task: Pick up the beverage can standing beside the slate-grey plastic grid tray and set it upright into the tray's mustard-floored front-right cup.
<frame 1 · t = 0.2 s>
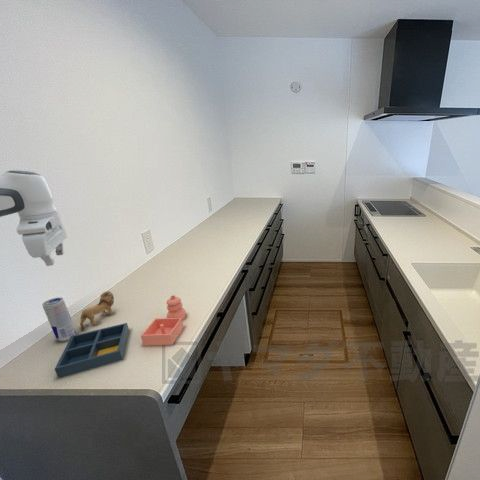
hand: (56, 259, 91), 26 cm above the table, tool pointing down, fingers open, 8 cm apart
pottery: (170, 328, 98), on the table
lion figurine: (100, 318, 102), on the table
beverage can: (67, 337, 92), on the table
grid: (97, 351, 86), on the table
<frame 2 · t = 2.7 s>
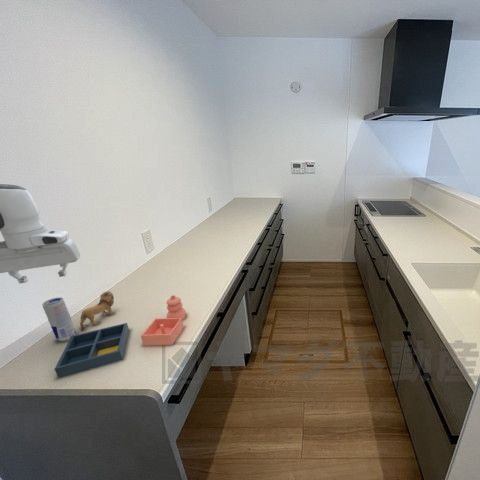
hand: (44, 278, 84), 23 cm above the table, tool pointing down, fingers open, 8 cm apart
nothing on the table moved.
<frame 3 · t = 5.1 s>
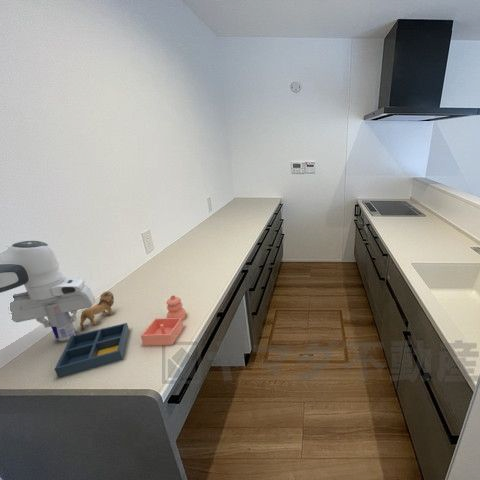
hand: (61, 323, 90), 6 cm above the table, tool pointing down, fingers closed on beverage can, 5 cm apart
beverage can: (67, 337, 92), on the table, touching gripper
everything else where it was.
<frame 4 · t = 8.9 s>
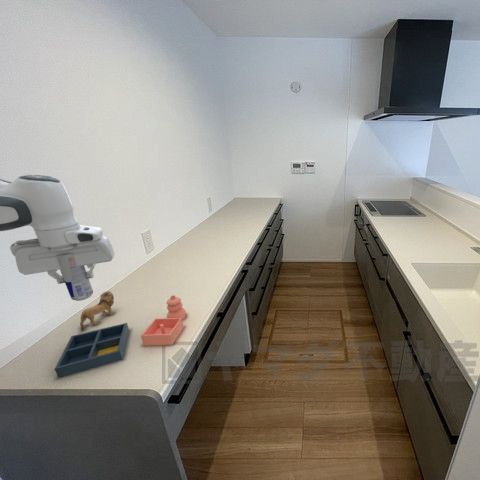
hand: (77, 280, 77), 27 cm above the table, tool pointing down, fingers closed on beverage can, 5 cm apart
beverage can: (83, 297, 79), point 21 cm above the table, touching gripper
everything else where it was.
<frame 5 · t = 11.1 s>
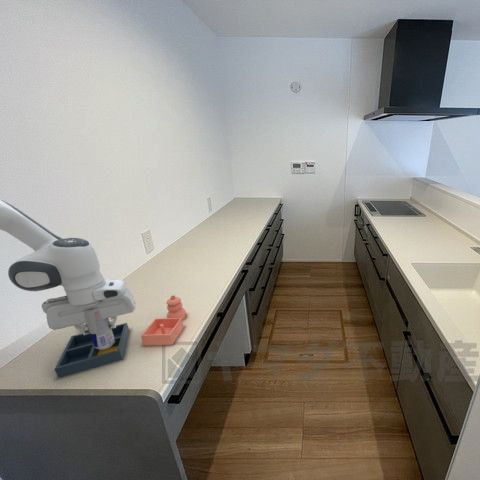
hand: (100, 330, 81), 10 cm above the table, tool pointing down, fingers closed on beverage can, 5 cm apart
beverage can: (105, 346, 83), point 4 cm above the table, touching gripper
everything else where it was.
when the fingers open (6 cm above the table, at t = 12.6 s): beverage can stays where it is, resting on grid.
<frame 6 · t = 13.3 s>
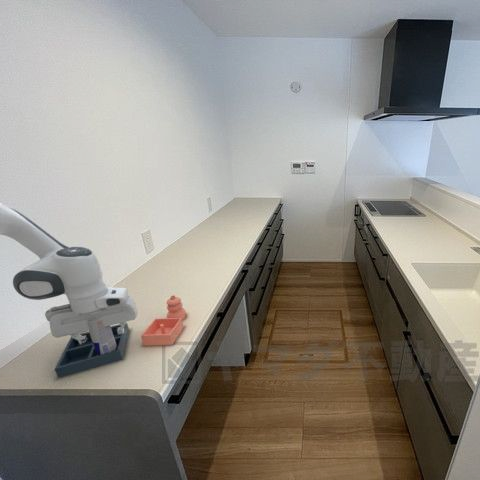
hand: (103, 337, 82), 7 cm above the table, tool pointing down, fingers open, 8 cm apart
beverage can: (108, 354, 84), point 1 cm above the table, touching grid
everything else where it was.
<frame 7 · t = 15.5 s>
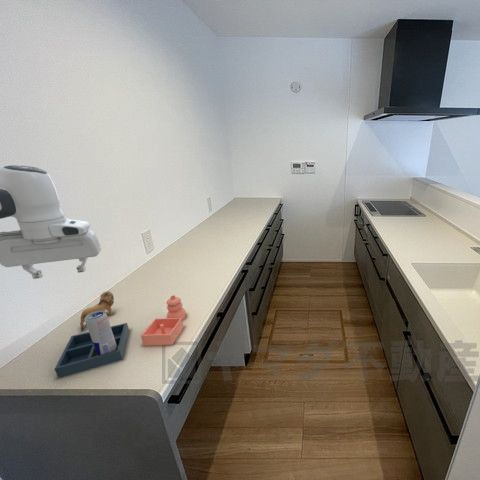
hand: (60, 274, 75), 29 cm above the table, tool pointing down, fingers open, 8 cm apart
nothing on the table moved.
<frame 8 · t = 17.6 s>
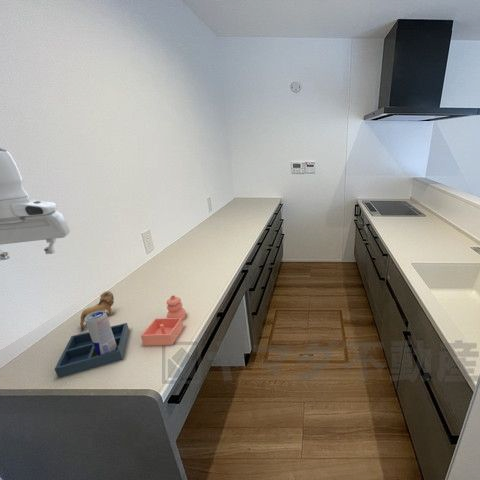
hand: (28, 256, 74), 34 cm above the table, tool pointing down, fingers open, 8 cm apart
nothing on the table moved.
at the end: beverage can 0.2 cm from the target spot in the grid, point 0.5 cm above the grid's base; beverage can tilted 0° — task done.
